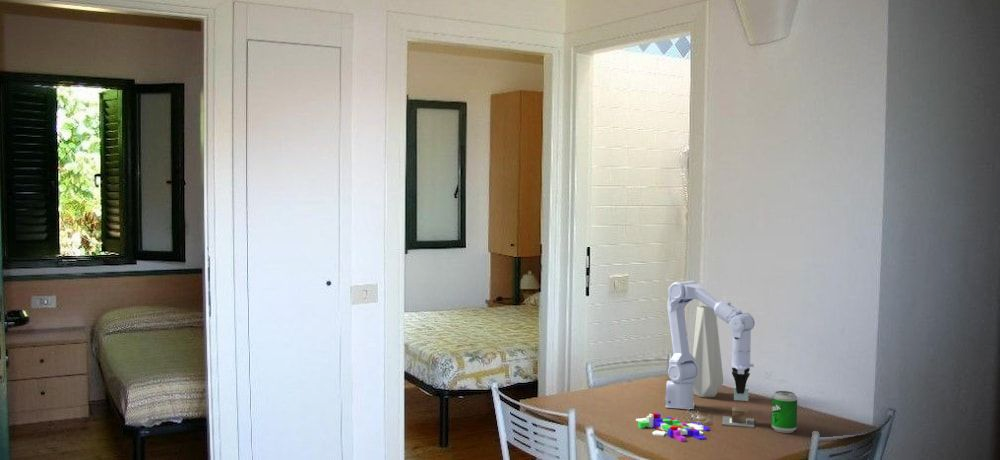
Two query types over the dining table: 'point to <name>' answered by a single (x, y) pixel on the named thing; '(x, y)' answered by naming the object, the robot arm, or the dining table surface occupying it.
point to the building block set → (672, 427)
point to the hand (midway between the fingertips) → (740, 391)
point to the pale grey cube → (741, 396)
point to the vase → (707, 353)
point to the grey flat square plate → (728, 422)
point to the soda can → (784, 411)
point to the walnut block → (738, 415)
